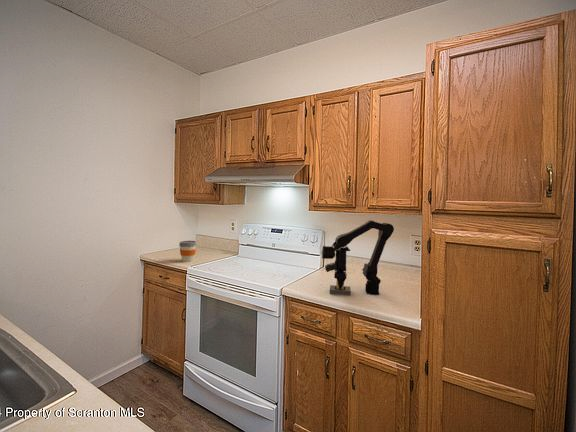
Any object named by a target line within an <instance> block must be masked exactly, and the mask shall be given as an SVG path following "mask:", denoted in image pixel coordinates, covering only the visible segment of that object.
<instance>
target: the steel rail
mask: <svg viewBox="0 0 576 432" xmlns="http://www.w3.org/2000/svg"><path fill="white" fill-rule="evenodd" d="M329 295H336V296H337V295H338V296H351V286H347V285H346V286H345V285H344V290H338V289H336V285H333V284H330V285H329Z"/></svg>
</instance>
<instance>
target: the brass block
mask: <svg viewBox="0 0 576 432" xmlns="http://www.w3.org/2000/svg"><path fill="white" fill-rule="evenodd" d="M335 286H336V289H338V290H344V286H345V283H344V284H343V286H342V288H341V289H339V285H338V280H337V279H336V285H335Z"/></svg>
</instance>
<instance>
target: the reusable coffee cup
mask: <svg viewBox="0 0 576 432" xmlns="http://www.w3.org/2000/svg"><path fill="white" fill-rule="evenodd" d="M196 246H197V241H196V240H182V241H179V253H180V256H181V261H183V263H191V262H194V261H195V255H196V252H197V247H196Z"/></svg>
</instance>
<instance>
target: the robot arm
mask: <svg viewBox="0 0 576 432" xmlns="http://www.w3.org/2000/svg"><path fill="white" fill-rule="evenodd" d="M372 229H374V230H378V234H377V235H378V237H377V240H376V244H375V246H374V248H373V251H372V254H371V257H370V259H369V261H368V263H366V262H365V263H364V265H363V268H362V269H361V270H362V275H363V277H365V278H366V283H365V290H364V291H365V292H366V294H367V295H377V296H380V284H381V282H382V281H381V278H379V277H378V276H377V275H378V266H379V262H380V260H381V257H382V254H383V252H384V249H385V246H386V244H387V241H388V240H389V239H390V238H391V236H392V234H393V233H394V231H395V227H394V226H393V224H392V223H389V222H382V223H380V222H377V221H375V220H371V219H370V220H368V221H366V222H365V223H363V224H361V225H360V226H358V227H356V228H354V229H352V230H350V231H348V232H345V233H342V234H338V235H337V236H336V237H335V240H334V242H333V243H332V245H331V246H329V245H327V246H326V245H323V246H322V248H321V249H322V250H321V259H324V260H325V259H326V260H329V259H330V260H333V259H335V260H334V262H331V263H327V264H325V265H324V268H325V271H326V272H327V273H329V272H331V271H332V272H333V271H334V276H333V277H334V279H336V281H337V280H338V285H339V289H341V288H342V286H343V284H344V285H345V281H346V279H347V275H348V274H347V252H351V249H350V248H349V247H348V245H349V244H350V243H352V242H353V240H354V239H356V238H358V237H360V236H361V235H363V234H365V233H367V232H368V231H371V230H372Z"/></svg>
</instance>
